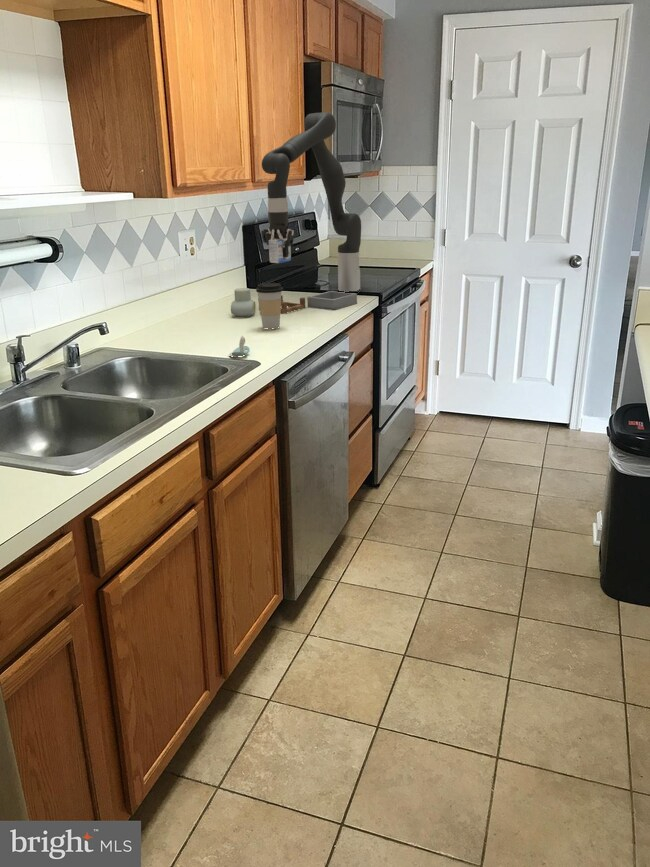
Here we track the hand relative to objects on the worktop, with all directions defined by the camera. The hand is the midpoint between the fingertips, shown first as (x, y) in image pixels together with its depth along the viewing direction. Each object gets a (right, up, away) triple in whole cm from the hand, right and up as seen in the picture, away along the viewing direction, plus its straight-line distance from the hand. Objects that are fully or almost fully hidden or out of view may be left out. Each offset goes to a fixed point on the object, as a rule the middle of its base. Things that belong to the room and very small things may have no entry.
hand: (280, 256), depth 274 cm
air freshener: (-14, -23, -3) cm, 27 cm away
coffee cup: (-2, -31, -24) cm, 39 cm away
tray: (+20, -16, +13) cm, 29 cm away
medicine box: (0, -2, +1) cm, 2 cm away
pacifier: (-9, -45, -59) cm, 75 cm away
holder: (0, -19, +7) cm, 20 cm away
